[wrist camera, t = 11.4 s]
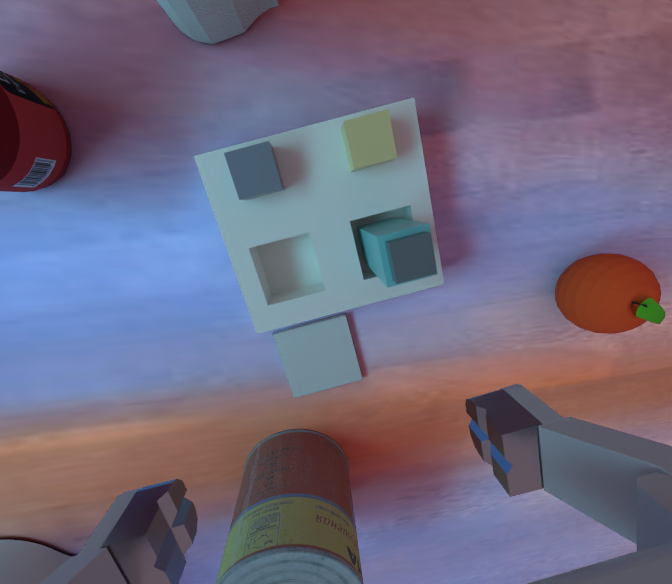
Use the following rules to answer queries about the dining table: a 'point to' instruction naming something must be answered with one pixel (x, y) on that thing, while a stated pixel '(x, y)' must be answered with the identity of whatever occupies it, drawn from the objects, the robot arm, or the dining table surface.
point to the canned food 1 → (30, 138)
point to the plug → (398, 250)
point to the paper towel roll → (214, 17)
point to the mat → (318, 355)
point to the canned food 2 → (293, 515)
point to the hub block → (318, 211)
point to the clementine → (609, 294)
